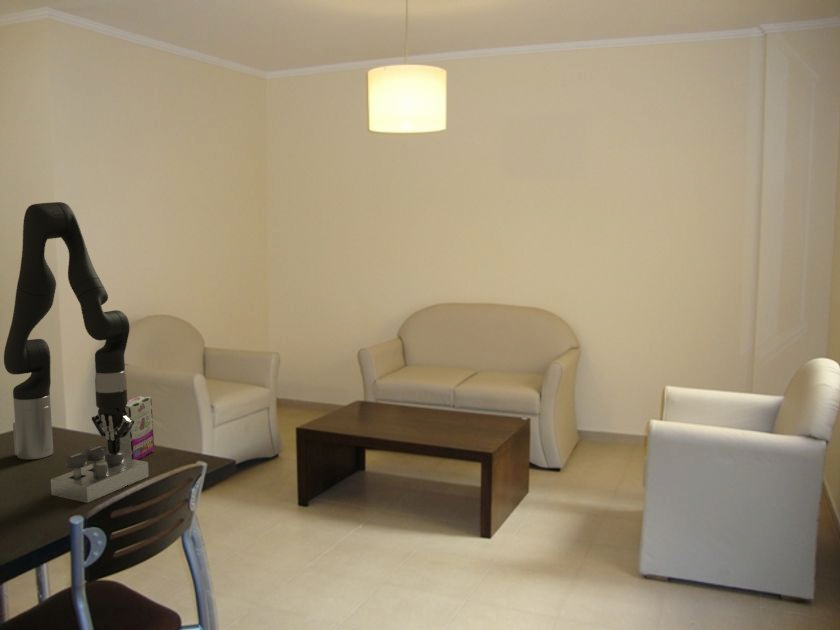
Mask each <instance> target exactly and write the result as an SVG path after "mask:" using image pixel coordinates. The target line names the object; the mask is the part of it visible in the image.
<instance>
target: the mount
mask: <svg viewBox="0 0 840 630" xmlns="http://www.w3.org/2000/svg"><path fill="white" fill-rule="evenodd" d="M100 461H105V459H103V460H100ZM149 476H150V475H149V461H145V460H141V459H140V460H134V459H129V458H125V462H124V463H122V464H120V465H113V466H110V465H108V477H105V478H96V477H95V472H93V464H92V463H91V464H87V465H86V466H84V467H81V479H78V480H75V479H73V470H72V471H69V472H67V473H64V474H62V475H58V476H56V477H53V478H51V479H50V490H51V493H50V494H51V496H55V497H59V498H64V499H69V500H72V501H77V502H81V503H82V502H83V503H85V504H88V503H91V502H93V501H95V500H98V499H100V498H102V497H105V496H106V495H109V494H111V493H114V492H115V491H119V490H121V489H123V488H125V486H126V487H127V485H128V486H131V485H133V484H134V483H135V484H136V482H137V483H138V482H139V481H142V480H144V479H147V478H148V477H149Z"/></svg>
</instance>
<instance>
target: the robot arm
mask: <svg viewBox="0 0 840 630" xmlns="http://www.w3.org/2000/svg"><path fill="white" fill-rule="evenodd" d="M22 226H23V227H22V251H21V258H20V266H19V267H20V268H19V273H18V278H17V279H18V280H17V283H16V284H17V285H16V290H15V299H14V300H15V301H14V305H13V313H12V319H11V325H10V328H9V331H8V336H7V338H6V342H5V347H4V350H3V351H4V352H3V363H4V364H3V365H4V368H5V370H6V371H7V373H9V374H11V375H23V374H24V375H25V374H30V376H29V377H28V378H26V380H24V381H23V382H21V383H19V384H17V385H16V386H14V387H13V389H12V396H13V411H14V414H13V415H14V422H13V423H12V428H13V429H12V430H13V431H12V432H13V447H14V456H17V458H18V459H20V460H38V459H42V458H46V457H49V456H51V455H53V454H54V442H53V441H54V440H53V439H54V438H53V424H52V405H51V404H52V403H51V390H50V389H51V385H52V384H51V351H50V348H49V344H48V342H46V340H44V339H42V338H33V339H29V337H30V334H32V331H33V330H34V328H36V327H37V325H38V324H39V323H40V322H41V321H42V320H43V319H44V317H46V316H47V314H48V313H49V312H50V310H51V309H52V307H53V305H54V300H55V293H56V289H57V282H56V278H55V275H54V273H53V271H52V270H51V268H50V266H49V265H48V262H47V261H46V258H45V257H46V255H45V249H46V245H47V241H48V240H51V239H58V238H60V239H62V241H63V242H64V244H65V245H66V248H67V251H68V266H67V267H68V268H67V278H68V279H67V280H68V283H69V286H70V288H71V290H72V292H73V293H74V296H75V297H76V299H77V300H78V303H79V305H80V309H81V310H80V311H81V315H82V320H83V324H84V328H85V330H86V333H87V334H88V335H89V336H90V337H91V338H92V339H94V340H95V341H99V342H101V341H105V342H104V345H103V346H102V347H101V348H99V349H97V350H96V351H95V353H94V363H95V364H94V367H95V376H94V377H95V379H94V387H95V388H94V389H95V390H94V391H95V405H96V407H97V409H98V411H97V414H96V415H94V416H91V421H92V423H93V424H94V426H95V428H96V430H97V431H98V433H99V434H100V436H101V437H105V439H106V440H107V450H108V451H107V452H109V453H110V454H116V453H118V452H119V451H120V438H122V437H125V436H126V435H127V434H128V432H129V430H130V429H131V427H132V426H133V424H134V420H130V419H129V418H128V417H127V412H126V410H125V407H126V405H127V400H128V386H127V374H126V367H125V352H126V348H127V345H128V340H129V339H128V338H129V335H130V322H129V318H128V317H127V315H126V314H125V312H123V311H121V310H108V311H104V310H103V307H102V306H103V305H104V304H105V303H107V301H108V299H109V295H108V293H107V290H106V288H105V286H104V284H103V283H102V281H101V278H100V277H99V275H98V273H97V271H96V270H95V267H94V265H93V262H92V261H91V258H90V255H89V251H88V248H87V246H86V243H85V239H84V236H83V233H82V231H81V228H80V224H79V222H78V219H77V216H76V215H75V213H74V211H73V209H72V208H71V207H70V206H69V204H67V203H66V202H63V201H62V202H61V201H59V202H58V201H54V202H43V203H42V202H41V203H40V202H39V203H34V204H33V203H32V204H31V205H29V206H28V207H27V208H26V210H25V212H24V217H23V224H22Z"/></svg>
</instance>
